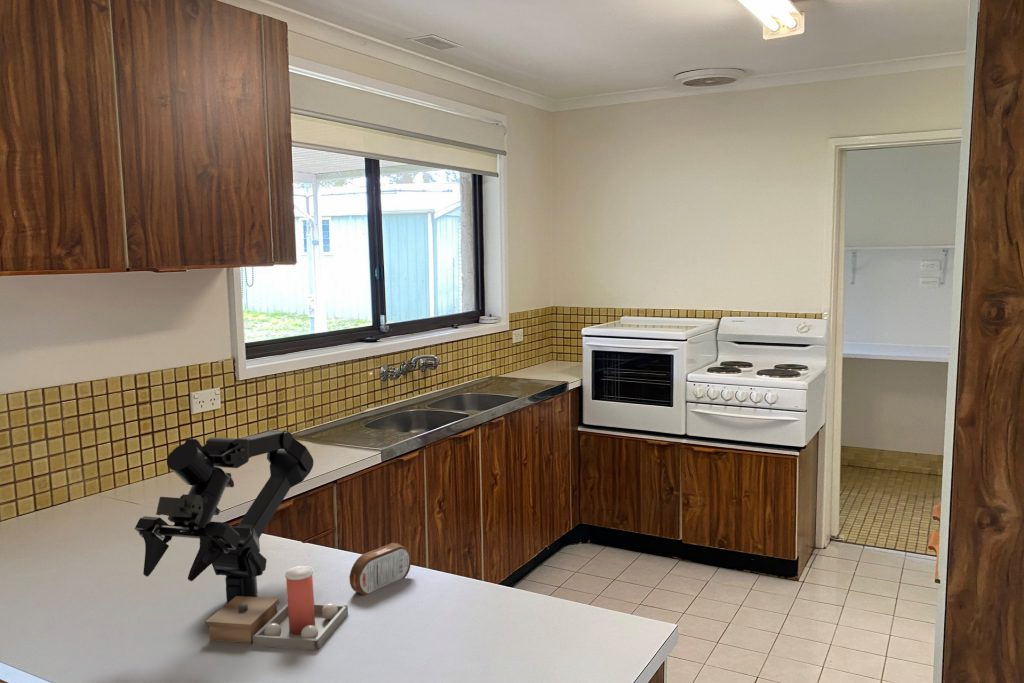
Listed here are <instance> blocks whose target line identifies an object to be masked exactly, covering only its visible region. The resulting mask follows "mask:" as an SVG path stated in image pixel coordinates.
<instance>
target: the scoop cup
mask: <svg viewBox="0 0 1024 683" xmlns="http://www.w3.org/2000/svg"><path fill="white" fill-rule="evenodd" d="M313 574H314V569H313V568H312V567H311V566H307V565H306V566H305V565H299V566H295V567H292V568H289V569H287V570H285V572H284V576H285V581H286V596H287V597H286V598H287V599H286V600H287V603H288V615H289V631H290V633H291V634H294V635H301V631H302V629H303V628H304V627H305V626H308V625H313V626H315V613H314V603H315V600H314V598H315V597H314V596H315V595H314V580H313V579H314V578H313Z"/></svg>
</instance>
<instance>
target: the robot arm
mask: <svg viewBox="0 0 1024 683" xmlns="http://www.w3.org/2000/svg"><path fill="white" fill-rule="evenodd" d="M263 454H267V455H266V460H267V461H268V462H269V472H270V473H269V475H270V476H269V477H268V479H267V480H266V482H265V484H264V485H263V487H262V488H261V489H260V492H259V493H258V494H257V496H256V498H255V499H254V501H253V502H252V504H251V505H250V507H249V508H248V509H247V511H246V512H245V514H244V516H243V517H242V519H241V520H240V522H239V523H238V525H236V526H231V525H230V524H229V523H228V522H222V521H212V519H213V517H214V516H219V515H220V512H221V510H220V509H219V508H218V506H219V504H220V501H221V498H222V496H223V494H224V492H225V490H226V488H234V486H235V483H234V479H233V478H232V473H231V472H225V471H224V470H223V468H224V469H226V468H227V469H238V468H241V467H242V466H244V465H245V464H247V463H248V462H249V460H250V459H251V458H252V457H255V456H256V457H257V456H260V455H263ZM166 465H167V467H168V468H169V469H170V471H172V472H173V473H174V474H175V475H176V476H177V477H178V478H179V479H180V480H182V481H183V483H185V484H186V485H189V486H191V487H190V489H189V491H188V493H187V494H182V495H180V497H172V496H171V497H169V496H159V499H158V504H157V508H156V512H155V515H156V516H149V515H148V516H145V515H144V516H143V517H140V518H139V519H138V521H137V523H136V525H135V526H134V530H135V531H136V532H137V533H138V535H139V536H140V537H141V538H143V541H144V544H145V545H144V546H145V552H144V563H143V576H145V577H149V576H150V575H151V574H152V573H153V571H154V570H155V569H156V567H157V565H159V563H160V561H161V559H162V557H163V556H164V554H165V553H166V552H167V550H168V548H169V547H170V545H169V544H168V543H170V542H171V540H172V539H173V537H175V538H176V537H179V538H186V539H187V538H188V539H189V538H190V539H198V540H199V549H198V551H197V553H196V556H195V558H194V559H193V562H192V564H191V568H190V569H189V572H188V576H187V580H188V581H189V582H193V581H194V580H195V579H196V578H197V577H199V576H200V575H201V574H202V573H203V572H204V571H206V570H207V568H208V567H210V565H212V568H213V571H214V574H215V575H216V576H225V578H224V579H225V596H226V597H225V598H226V604H227V603H228V602H230V601H231V600H232V599H233V598H235V597H236V596H246V597H258V593H259V592H258V581H257V580H258V579H257V577H259V576H262V575H263V574H264V573H263V572H264V571H266V568H267V558H266V557H264V555H262V554H261V553H260V552H261V546H260V538H261V536H262V534H263V533H264V531H265V530H266V528H267V526H268V525H269V523H270V522H271V520H272V518H273V516H274V515H275V513H276V512H277V510H278V509H279V507H280V506H281V503H283V500H284V499H285V497H286V496H287V494H288V492H289V491H290V490H291V488H293V487H296V486H297V485H299V484H301V483H302V482H303V481H304V480H305V479H306V478H307V477H308V476H309V474H310V473H311V471H312V469H313V467H314V458H313V456H312V454H311V453H310V451H309V449H308V447H306V446H305V445H304V444H302V443H301V442H299V441H298V440H297V439H295V438H294V436H293V435H292V433H291V432H290V431H288V430H280V429H276V430H275V429H269V430H268V431H265V432H260V433H257V434H252V435H248V436H243V437H239V438H234V437H233V438H232V437H215V436H214V437H210V438H208V439H206V441H205V444H202V445H201V442H200V441H199V440H198V438H186V439H185V442H184V443H182V444H180V445H178V446H177V447H175V448H174V449H173V450H172V451H171V452H169V454H168V456H167V458H166ZM159 516H167V520H168V521H170V522H171V523H174V524H169V523H167V522H166V521H165V520H164V519H163V518H161V517H159Z"/></svg>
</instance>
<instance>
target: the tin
mask: <svg viewBox="0 0 1024 683" xmlns="http://www.w3.org/2000/svg"><path fill="white" fill-rule="evenodd" d="M411 563H412V556H411V552H410V550H409V549H408V548H407V547H405V546H404V545H401V544H400V543H398V542H391V543H388V544H386V545H384V546H383V545H382V546H381V547H379V548H376V549H373V550H371V551H368V552H365V553H363V554H362V555H360V556H359V557H358V558H357V559H356V560H355V562H354V563H353V565H352V566H351V569H350V574H349V585H350V587H351V589H352V590H353V591H354V592H356V593H358V594H361V595H362V596H363V595H365V596H366V595H368V594H370V593H372V592H374V591H376V590H379V589H381V588H383V587H385V586H388V585H390V584H392V583H394V582H396V581H399V580H402V579H405V578H406V577H407V576H408V574H409V571H410V569H411V565H412V564H411Z"/></svg>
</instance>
